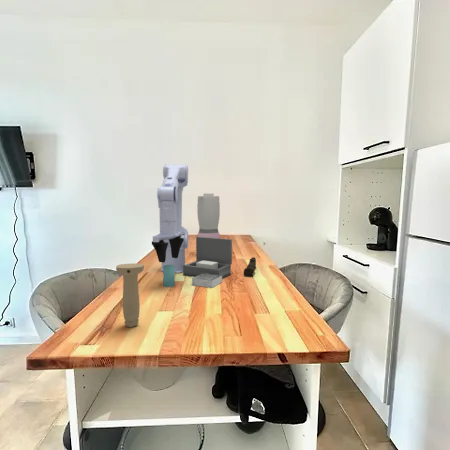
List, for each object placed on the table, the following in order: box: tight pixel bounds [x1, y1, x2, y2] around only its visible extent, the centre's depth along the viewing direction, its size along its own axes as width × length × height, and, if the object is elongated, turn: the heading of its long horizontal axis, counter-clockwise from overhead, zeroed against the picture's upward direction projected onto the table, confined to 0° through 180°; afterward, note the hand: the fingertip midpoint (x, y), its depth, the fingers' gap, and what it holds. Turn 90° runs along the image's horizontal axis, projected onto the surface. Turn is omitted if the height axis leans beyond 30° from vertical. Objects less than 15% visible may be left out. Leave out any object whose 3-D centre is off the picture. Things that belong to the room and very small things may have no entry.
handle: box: [115, 263, 145, 328], centre depth 79 cm, size 5×6×15 cm
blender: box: [196, 192, 221, 239], centre depth 166 cm, size 16×12×32 cm
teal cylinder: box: [162, 265, 176, 288], centre depth 113 cm, size 4×4×7 cm
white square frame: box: [191, 273, 223, 289], centre depth 115 cm, size 8×8×2 cm
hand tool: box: [243, 257, 257, 278], centre depth 134 cm, size 19×4×5 cm, turn 166°
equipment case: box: [182, 236, 233, 280], centre depth 127 cm, size 16×11×14 cm
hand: (168, 259), depth 112 cm, fingers open, 7 cm apart
